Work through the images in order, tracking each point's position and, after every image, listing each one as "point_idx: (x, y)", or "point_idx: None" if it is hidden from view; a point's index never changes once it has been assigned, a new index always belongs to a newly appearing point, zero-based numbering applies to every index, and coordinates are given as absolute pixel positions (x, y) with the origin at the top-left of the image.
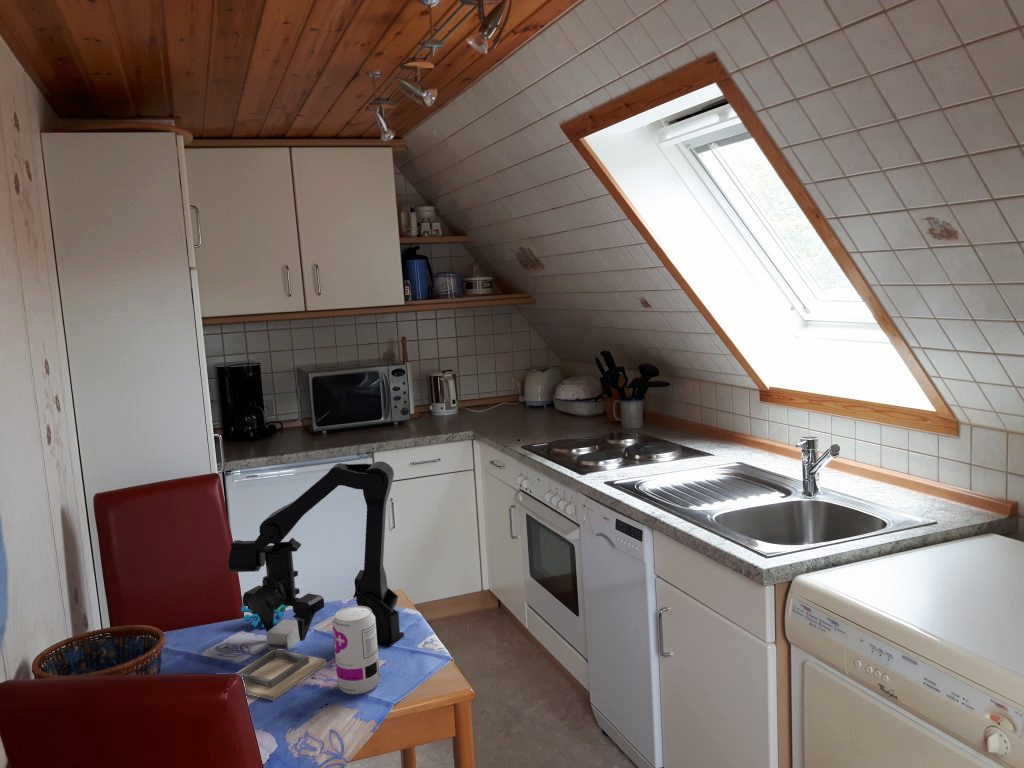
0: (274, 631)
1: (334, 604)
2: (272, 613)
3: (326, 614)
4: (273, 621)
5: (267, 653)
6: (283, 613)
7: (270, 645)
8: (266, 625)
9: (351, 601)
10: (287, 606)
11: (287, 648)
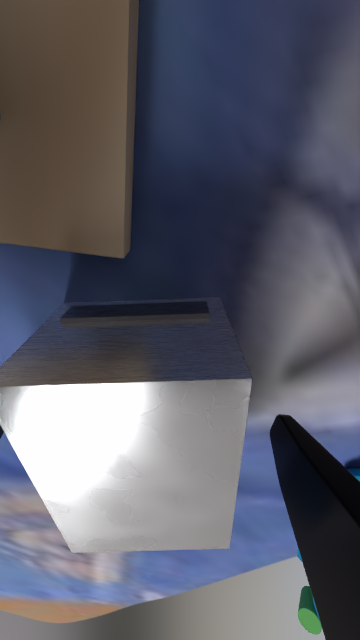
0: (175, 415)
1: (172, 585)
2: (332, 623)
3: (153, 555)
4: (292, 524)
5: (119, 151)
6: (300, 557)
7: (195, 306)
8: (324, 480)
9: (133, 597)
10: (303, 593)
11: (60, 310)
